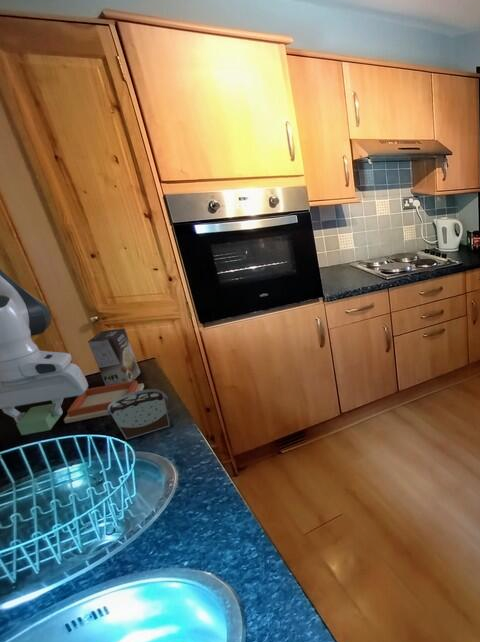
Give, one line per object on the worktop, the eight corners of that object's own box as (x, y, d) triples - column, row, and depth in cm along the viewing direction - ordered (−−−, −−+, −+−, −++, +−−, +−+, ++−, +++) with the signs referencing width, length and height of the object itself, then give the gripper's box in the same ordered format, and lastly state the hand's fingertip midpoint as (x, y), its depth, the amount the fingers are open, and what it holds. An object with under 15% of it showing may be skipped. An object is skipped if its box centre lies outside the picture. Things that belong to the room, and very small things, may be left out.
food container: (174, 414, 127) (163, 383, 123) (176, 424, 123) (165, 392, 119) (118, 430, 120) (104, 398, 116) (118, 441, 115) (104, 408, 111)
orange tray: (65, 423, 123) (60, 414, 122) (82, 397, 135) (79, 389, 134) (133, 409, 129) (129, 400, 128) (144, 386, 141) (141, 378, 140)
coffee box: (131, 385, 142) (113, 339, 135) (106, 389, 140) (86, 342, 133) (141, 372, 150) (124, 328, 143) (117, 375, 148) (100, 330, 141)
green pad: (21, 435, 103) (16, 424, 102) (36, 417, 110) (31, 407, 109) (50, 429, 105) (45, 419, 104) (63, 412, 112) (58, 402, 111)
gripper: (-58, 381, 95) (-28, 436, 100) (69, 363, 103) (90, 414, 109) (-41, 369, 100) (-13, 421, 105) (78, 352, 108) (98, 401, 114)
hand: (40, 417), depth 107 cm, fingers closed on green pad, 5 cm apart
